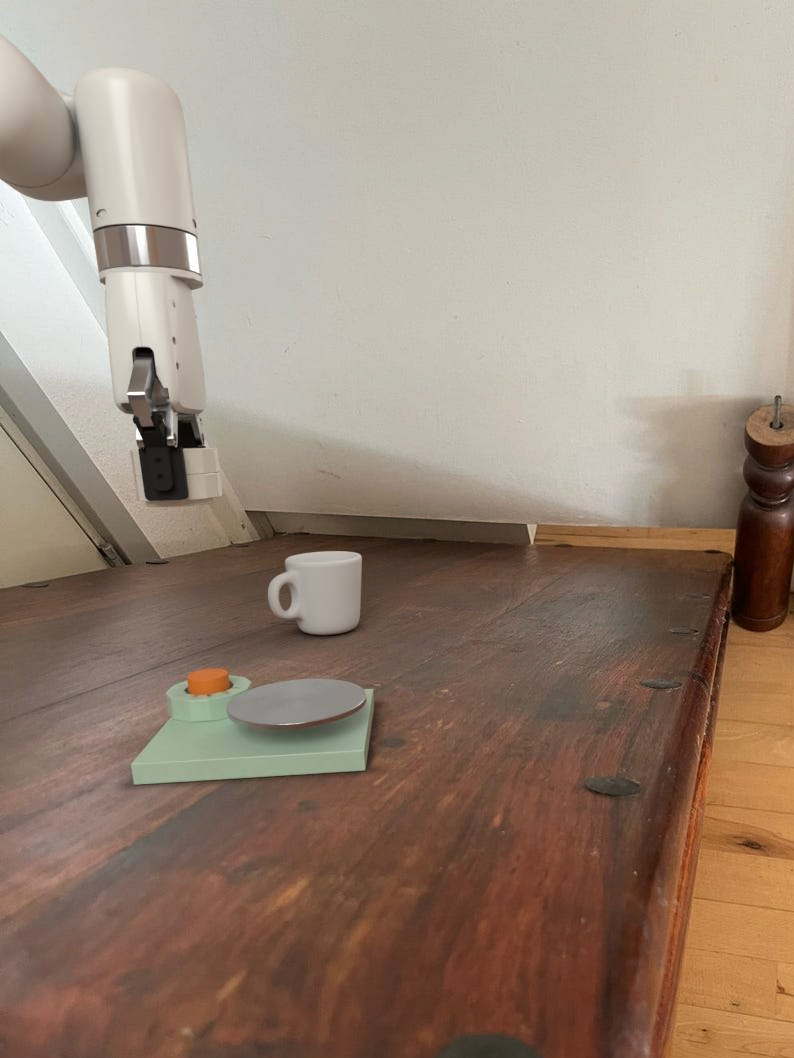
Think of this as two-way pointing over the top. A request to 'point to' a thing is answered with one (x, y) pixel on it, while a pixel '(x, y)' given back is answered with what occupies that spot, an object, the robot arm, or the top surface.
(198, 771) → the scale
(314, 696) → the platter
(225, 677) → the power button
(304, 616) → the cup
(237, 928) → the top surface
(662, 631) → the top surface
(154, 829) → the top surface
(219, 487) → the bowl
